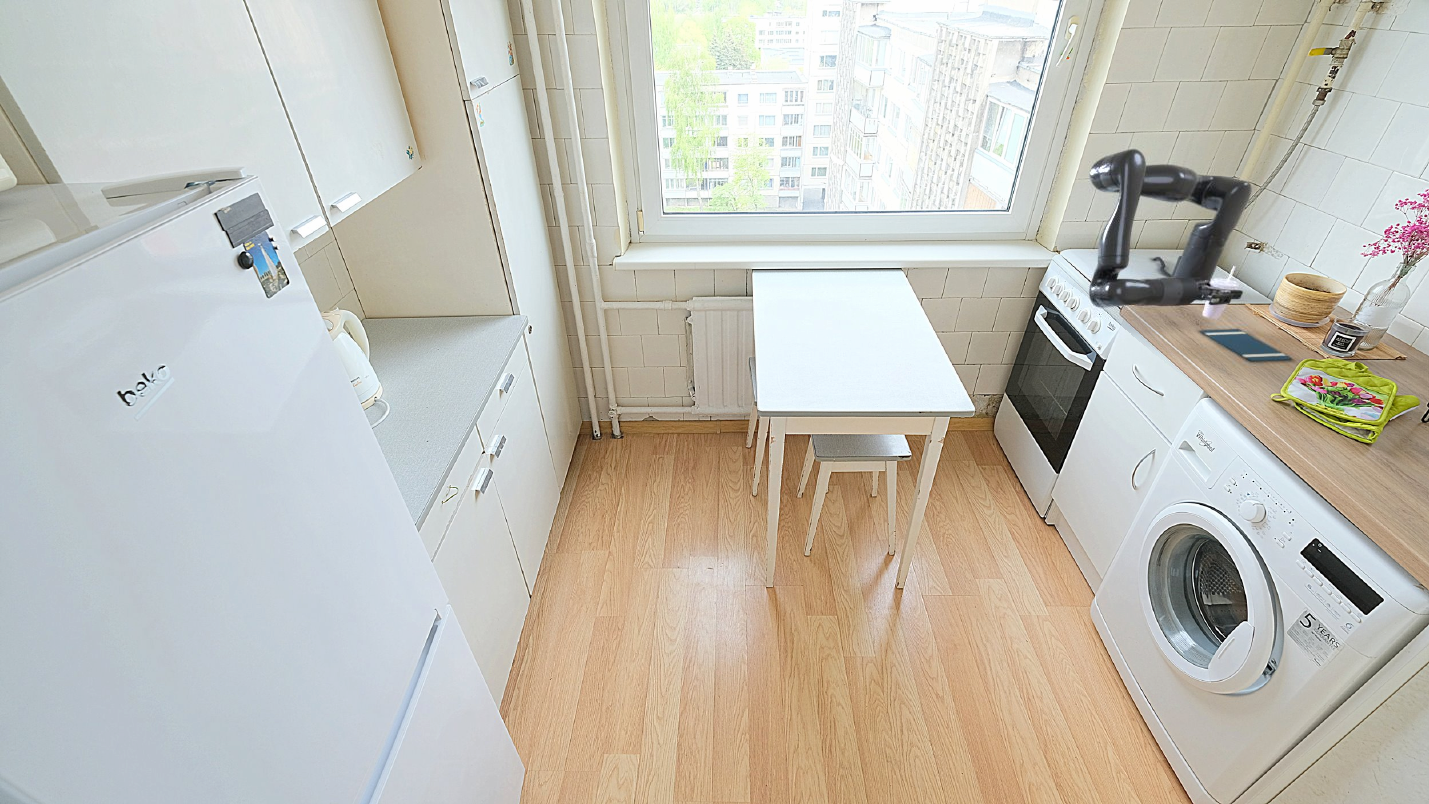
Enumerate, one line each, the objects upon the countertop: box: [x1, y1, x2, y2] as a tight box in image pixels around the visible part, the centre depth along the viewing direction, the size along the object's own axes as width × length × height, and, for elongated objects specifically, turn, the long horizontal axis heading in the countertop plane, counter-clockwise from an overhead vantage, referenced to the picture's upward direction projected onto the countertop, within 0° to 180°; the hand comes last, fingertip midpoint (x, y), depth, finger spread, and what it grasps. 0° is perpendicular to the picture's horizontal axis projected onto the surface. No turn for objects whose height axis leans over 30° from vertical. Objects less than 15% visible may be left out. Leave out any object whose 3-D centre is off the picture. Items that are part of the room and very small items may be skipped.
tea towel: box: [1200, 328, 1293, 362], centre depth 162 cm, size 17×10×1 cm, turn 4°
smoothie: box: [1202, 265, 1241, 320], centre depth 169 cm, size 6×6×14 cm
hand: (1230, 289), depth 168 cm, fingers closed on smoothie, 6 cm apart
